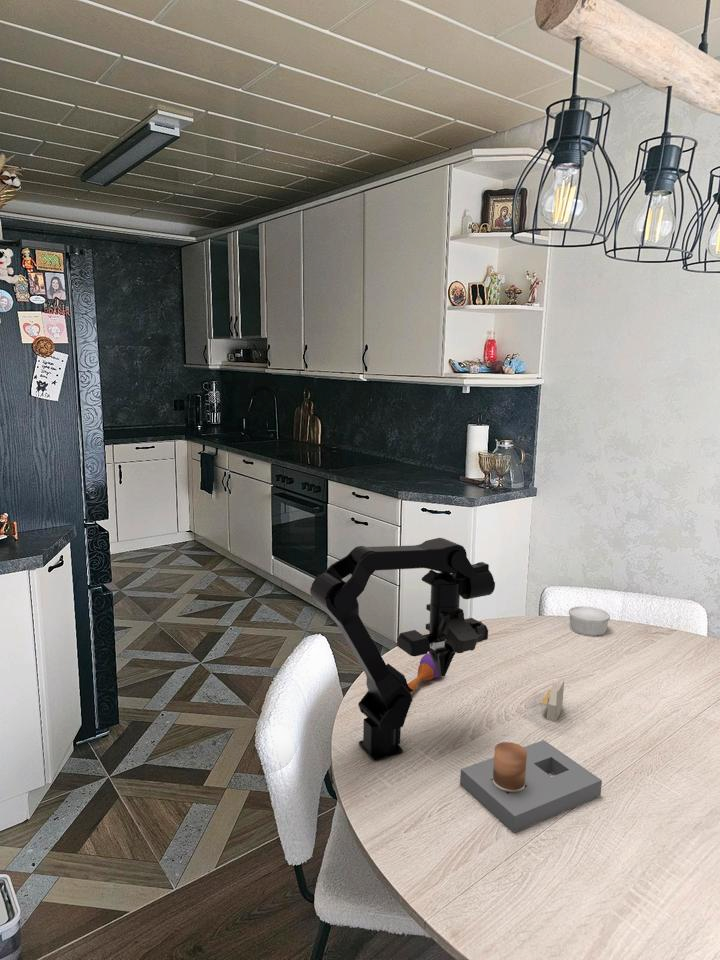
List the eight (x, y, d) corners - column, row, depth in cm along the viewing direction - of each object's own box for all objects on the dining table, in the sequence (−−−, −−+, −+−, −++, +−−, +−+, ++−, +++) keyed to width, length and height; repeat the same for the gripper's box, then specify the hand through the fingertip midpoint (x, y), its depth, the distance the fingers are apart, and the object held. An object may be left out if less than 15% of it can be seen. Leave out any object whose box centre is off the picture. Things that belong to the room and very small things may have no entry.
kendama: (383, 686, 145) (424, 647, 161) (388, 711, 146) (428, 670, 162) (407, 689, 142) (446, 649, 158) (412, 714, 142) (450, 672, 159)
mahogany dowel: (506, 811, 110) (509, 764, 109) (485, 792, 115) (487, 747, 113) (530, 801, 113) (534, 755, 111) (509, 783, 118) (512, 738, 116)
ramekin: (581, 619, 196) (582, 602, 195) (616, 631, 187) (617, 613, 187) (559, 628, 189) (561, 611, 188) (595, 641, 180) (596, 623, 179)
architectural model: (539, 719, 141) (541, 687, 139) (547, 705, 147) (549, 674, 145) (555, 723, 139) (558, 691, 138) (563, 709, 145) (565, 678, 144)
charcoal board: (513, 832, 105) (514, 816, 105) (460, 784, 118) (460, 768, 117) (600, 795, 115) (601, 780, 115) (542, 754, 127) (543, 739, 127)
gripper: (429, 625, 118) (426, 705, 121) (508, 608, 127) (504, 683, 130) (396, 605, 128) (394, 679, 131) (472, 590, 137) (468, 660, 140)
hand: (441, 676), depth 133 cm, fingers closed
